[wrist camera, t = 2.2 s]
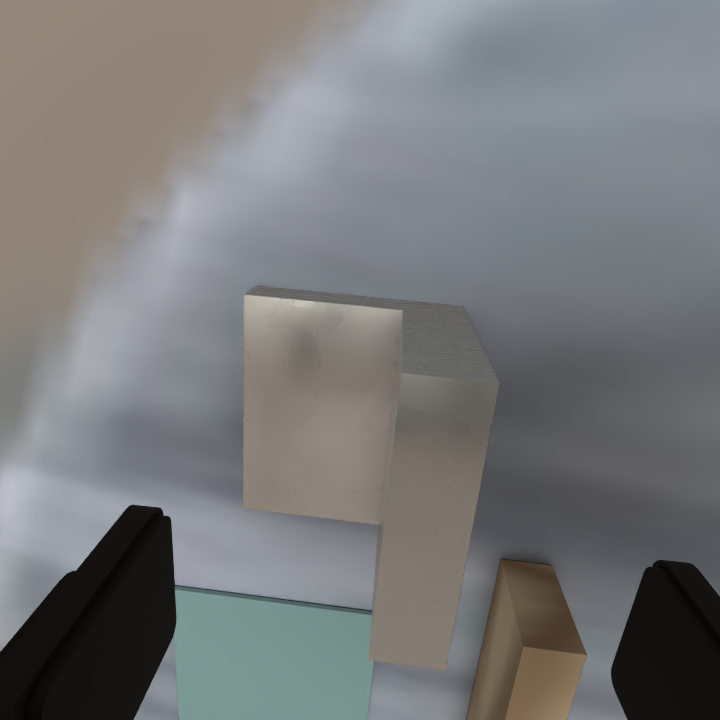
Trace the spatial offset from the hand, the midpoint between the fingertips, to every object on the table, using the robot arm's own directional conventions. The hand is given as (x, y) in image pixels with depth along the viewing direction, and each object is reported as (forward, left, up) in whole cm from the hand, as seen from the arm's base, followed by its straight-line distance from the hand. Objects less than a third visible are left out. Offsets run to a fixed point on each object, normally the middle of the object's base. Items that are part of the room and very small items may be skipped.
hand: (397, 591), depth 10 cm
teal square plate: (+4, +14, -9) cm, 17 cm away
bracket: (+2, 0, -9) cm, 9 cm away
